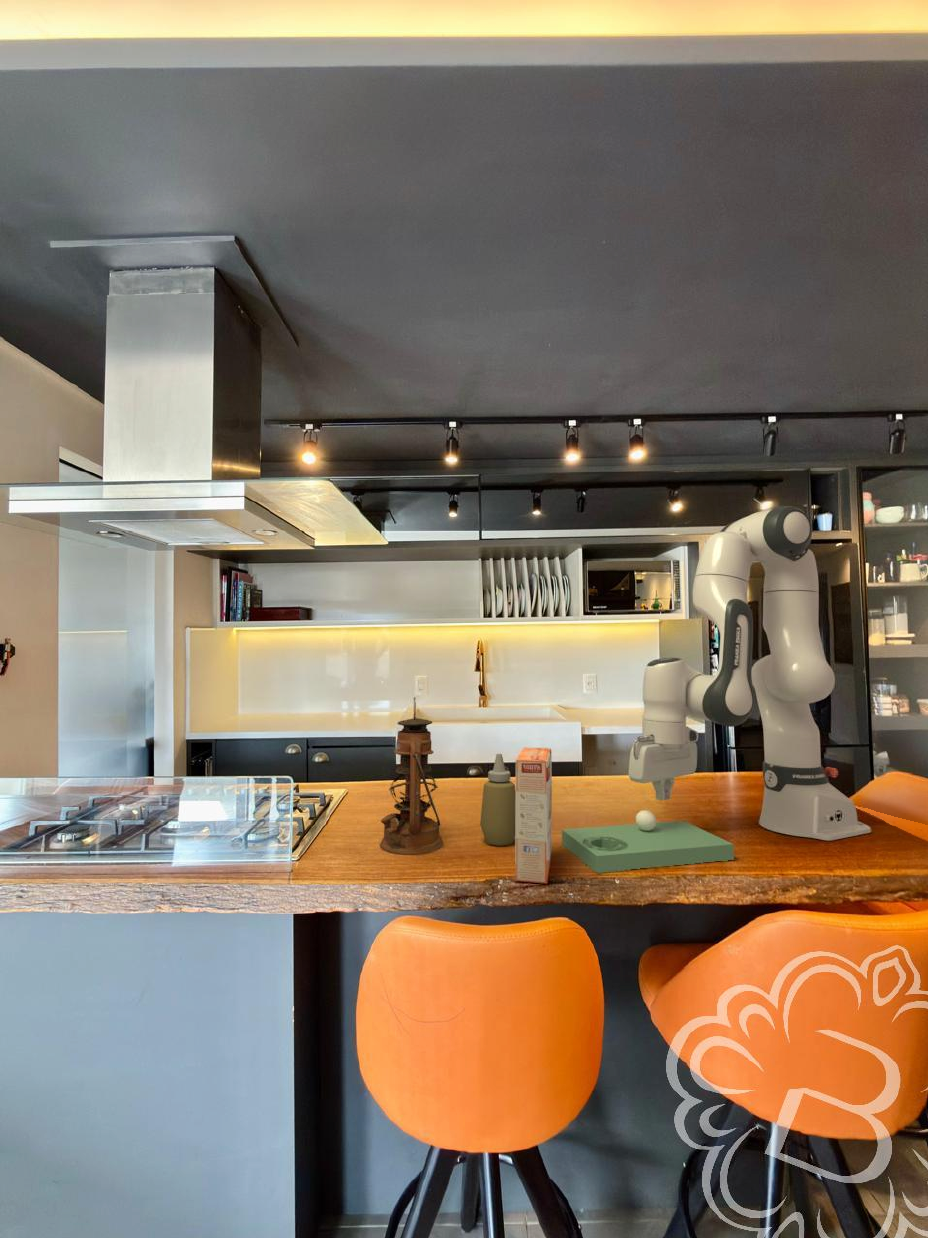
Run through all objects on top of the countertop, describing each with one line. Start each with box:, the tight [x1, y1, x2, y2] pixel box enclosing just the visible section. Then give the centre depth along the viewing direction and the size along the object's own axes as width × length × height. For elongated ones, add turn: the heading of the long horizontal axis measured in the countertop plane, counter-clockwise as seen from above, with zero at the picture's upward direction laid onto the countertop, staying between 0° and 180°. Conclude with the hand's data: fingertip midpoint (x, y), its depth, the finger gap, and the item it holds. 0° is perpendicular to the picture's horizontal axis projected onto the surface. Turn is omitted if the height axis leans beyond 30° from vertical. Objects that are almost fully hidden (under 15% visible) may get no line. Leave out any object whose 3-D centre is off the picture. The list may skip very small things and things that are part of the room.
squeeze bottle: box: [479, 753, 516, 846], centre depth 119 cm, size 8×8×18 cm
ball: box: [635, 809, 657, 831], centre depth 117 cm, size 4×4×4 cm
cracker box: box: [514, 747, 553, 885], centre depth 104 cm, size 14×6×21 cm, turn 168°
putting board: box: [561, 820, 735, 874], centre depth 112 cm, size 28×16×3 cm, turn 103°
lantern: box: [379, 697, 444, 856], centre depth 119 cm, size 17×13×30 cm
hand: (663, 799), depth 121 cm, fingers closed
